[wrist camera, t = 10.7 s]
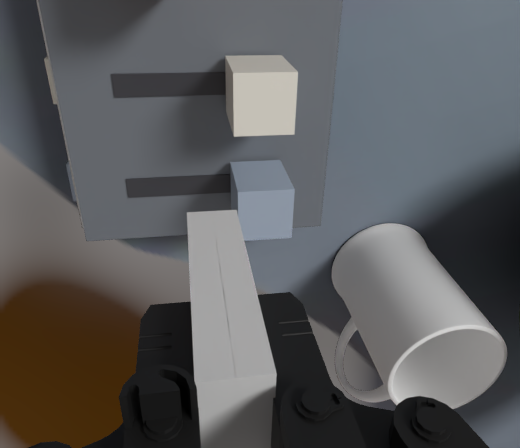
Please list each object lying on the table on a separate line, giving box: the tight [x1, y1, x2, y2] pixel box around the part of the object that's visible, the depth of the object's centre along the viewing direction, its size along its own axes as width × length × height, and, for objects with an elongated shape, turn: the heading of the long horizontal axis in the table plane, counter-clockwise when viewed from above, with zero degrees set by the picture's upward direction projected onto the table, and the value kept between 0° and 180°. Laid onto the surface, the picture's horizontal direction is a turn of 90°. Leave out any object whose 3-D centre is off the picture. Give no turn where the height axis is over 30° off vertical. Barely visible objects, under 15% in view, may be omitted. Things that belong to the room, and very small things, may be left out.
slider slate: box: [230, 160, 295, 241], centre depth 27 cm, size 3×3×4 cm
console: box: [36, 0, 343, 241], centre depth 27 cm, size 19×16×5 cm
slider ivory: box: [225, 55, 298, 137], centre depth 24 cm, size 3×3×4 cm
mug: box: [332, 223, 507, 409], centre depth 36 cm, size 12×8×12 cm
